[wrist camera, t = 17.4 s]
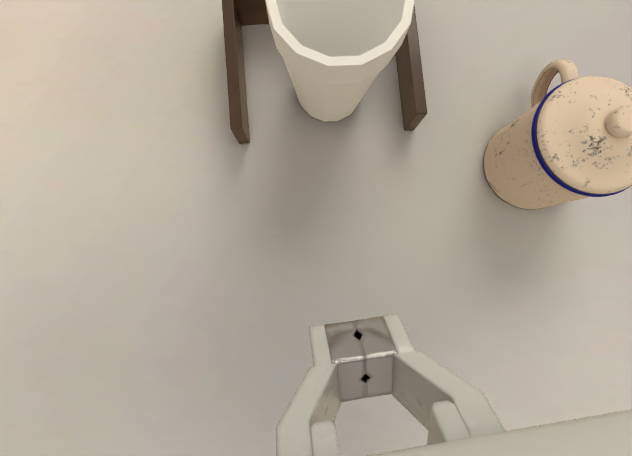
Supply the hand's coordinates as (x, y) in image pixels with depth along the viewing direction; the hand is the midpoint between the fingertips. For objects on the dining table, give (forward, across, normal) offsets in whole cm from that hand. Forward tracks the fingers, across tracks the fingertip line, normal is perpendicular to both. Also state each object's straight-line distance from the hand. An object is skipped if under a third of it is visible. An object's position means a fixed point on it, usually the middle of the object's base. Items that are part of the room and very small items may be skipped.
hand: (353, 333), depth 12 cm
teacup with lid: (+24, -22, +4) cm, 32 cm away
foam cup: (+29, -4, -3) cm, 29 cm away
